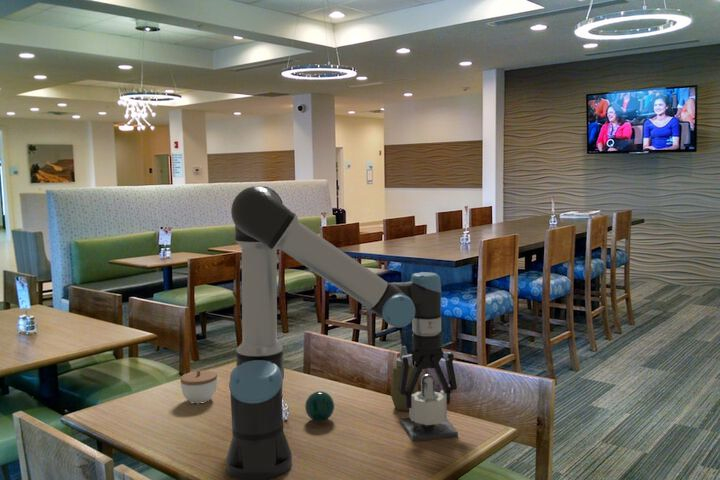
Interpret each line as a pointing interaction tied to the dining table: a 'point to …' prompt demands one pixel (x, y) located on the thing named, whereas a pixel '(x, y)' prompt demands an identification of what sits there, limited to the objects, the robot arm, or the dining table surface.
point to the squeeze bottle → (395, 394)
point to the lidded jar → (199, 385)
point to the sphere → (319, 406)
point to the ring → (429, 409)
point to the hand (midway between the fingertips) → (428, 417)
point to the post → (428, 431)
